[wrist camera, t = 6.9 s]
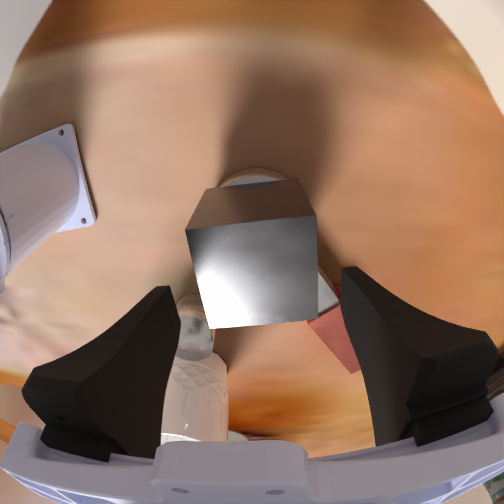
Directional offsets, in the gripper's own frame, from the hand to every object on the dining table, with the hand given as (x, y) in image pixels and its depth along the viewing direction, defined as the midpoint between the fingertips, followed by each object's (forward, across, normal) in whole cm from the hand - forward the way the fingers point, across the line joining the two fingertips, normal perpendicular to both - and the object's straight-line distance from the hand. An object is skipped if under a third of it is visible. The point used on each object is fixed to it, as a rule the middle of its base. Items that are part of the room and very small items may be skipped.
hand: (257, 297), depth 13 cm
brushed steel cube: (+7, 0, 0) cm, 7 cm away
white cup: (+10, +8, +15) cm, 20 cm away
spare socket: (+10, +6, +8) cm, 14 cm away
